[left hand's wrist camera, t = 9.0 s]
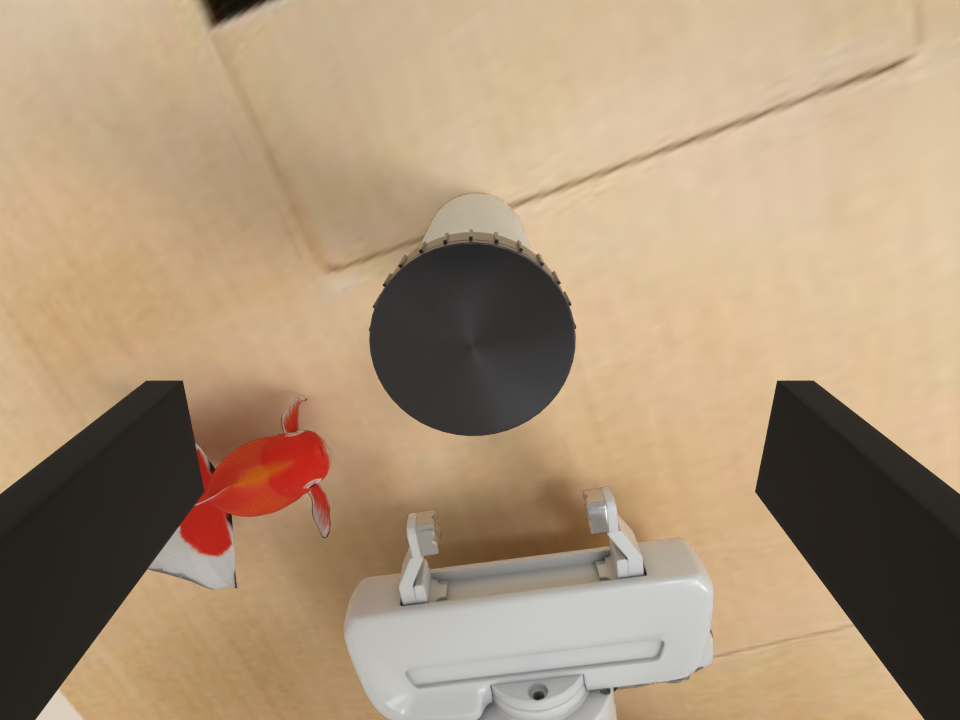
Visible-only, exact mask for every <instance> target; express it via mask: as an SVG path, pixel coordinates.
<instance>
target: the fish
mask: <svg viewBox="0 0 960 720" xmlns="http://www.w3.org/2000/svg"><path fill="white" fill-rule="evenodd" d="M306 400H307V399H306V398H304V397H303V396H301V395H300V396H299V397H298V398H297V399H295V400H294V401H293V402H292V403H291V404H290V405H289V407H288V408H287V409H286V410H285V412H284V414H283V415H282V418H281V422H282V428H283V432H284V434H280V435H277V436H273V437H266V438H260V439H257V440H255V441H252V442H250V443H248V444H245V445H243V446H241V447H239V448H237V449H236V450H234V451H233V452H232V453H231V454H230V455H228V456H227V457H226V458H225V459H224V460H223V461H222V462H221V464H220V465H219V466H218V467H217V468H216V470H215V468H214V467H213V465H212V464H211V462H210V461H209V459H208V458H207V456H206V455H205V453H204V452H203V450H202V449H201V447H200V446H199V445H198V444H196V443H195V445H196V450H197V455H198V460H199V465H200V470H201V475H202V480H203V485H204V490H205V492H204V494H203V495H202V496H201V498H200V499H199V500H198V502H197V503H196V504H195V506H194V507H193V508H192V510H191V511H190V512H189V514H188V515H187V516H186V518H185V519H184V520H183V522H182V523H181V524H180V526H179V527H178V529H177V530H176V531H175V533H174V534H173V535H172V537H171V538H170V539H169V541H168V542H167V543H166V545H165V546H164V547H163V549H162V550H161V551H160V553H159V554H158V555H157V557H156V558H155V559H154V561H153V562H152V563H151V565H150V566H149V567H148V569H149V570H153V571H157V572H161V573H165V574H168V575H172V576H175V577H179V578H182V579H186V580H189V581H192V582H194V583H196V584H199V585H201V586H204V587H206V588H209V589H220V588H237V584H236V576H235V552H234V539H233V527H232V515H237V516H242V517H252V516H261V515H265V514H270V513H273V512H276V511H278V510H281V509H283V508H284V507H286V506H288V505H290V504H291V503H293V502H295V501H296V500H298V499H299V498H300V497H301V496H302V495H303V494H305V493H307V492H308V493H309V495H310V497H311V499H312V514H313V518H314V520H315V522H316V524H317V526H318V528H319V531H320V533H321V536H322V537H323V538H326V537H327V536H328V534H329V532H330V524H331V523H330V516H329V514H330V507H329V504H328V501H327V497H326V494H325V493H324V491H323V490H322V488H321V487H320V485H319V484H318V483H319V482H320V481H322V480H323V479H324V478H325V477H326V475H327V474H328V472H329V471H330V464H331V455H330V450H329V447H328V446H327V444H326V442H325V440H324V439H323V438H321V437H320V436H319V435H318V434H317V433H315V432H311V431H299V429H298V410H299V404H300V402H301V401H306ZM231 514H232V515H231Z"/></svg>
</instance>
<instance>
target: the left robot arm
mask: <svg viewBox="0 0 960 720" xmlns="http://www.w3.org/2000/svg"><path fill="white" fill-rule="evenodd" d="M204 492H205V490H204V485H203V480H202V475H201V470H200V465H199V460H198V455H197V450H196V445H195V440H194V435H193V430H192V425H191V420H190V415H189V410H188V405H187V400H186V395H185V390H184V385H183V381H145V382H144V383H143V384H142V385H140V386H139V387H138V388H136V389H135V390H134V391H133V392H131V393H130V394H129V395H127V396H126V397H125V398H124V399H122V400H121V401H120V402H118V403H117V404H116V405H115V406H113V407H112V408H111V409H109V410H108V411H107V412H106V413H104V414H103V415H102V416H100V417H99V418H98V419H97V420H95V421H94V422H93V423H91V424H90V425H89V426H87V427H86V428H85V429H84V430H82V431H81V432H80V433H78V434H77V435H76V436H75V437H73V438H72V439H71V440H69V441H68V442H67V443H66V444H64V445H63V446H62V447H60V448H59V449H58V450H57V451H55V452H54V453H53V454H51V455H50V456H49V457H48V458H46V459H45V460H44V461H42V462H41V463H40V464H39V465H37V466H36V467H35V468H33V469H32V470H31V471H30V472H28V473H27V474H26V475H24V476H23V477H22V478H21V479H19V480H18V481H17V482H15V483H14V484H13V485H11V486H10V487H9V488H8V489H6V490H5V491H4V492H2V493H1V494H0V720H35V719H36V718H37V717H38V715H39V714H40V713H41V711H42V710H43V709H44V707H45V706H46V705H47V703H48V702H49V701H50V699H51V698H52V697H53V695H54V694H55V693H56V691H57V690H58V689H59V687H60V686H61V684H62V683H63V682H64V680H65V679H66V678H67V676H68V675H69V674H70V672H71V671H72V670H73V668H74V667H75V666H76V664H77V663H78V662H79V660H80V659H81V658H82V656H83V655H84V654H85V652H86V651H87V650H88V648H89V647H90V645H91V644H92V643H93V641H94V640H95V639H96V637H97V636H98V635H99V633H100V632H101V631H102V629H103V628H104V627H105V625H106V624H107V623H108V621H109V620H110V619H111V617H112V616H113V615H114V613H115V612H116V611H117V609H118V608H119V606H120V605H121V604H122V602H123V601H124V600H125V598H126V597H127V596H128V594H129V593H130V592H131V590H132V589H133V588H134V586H135V585H136V584H137V582H138V581H139V580H140V578H141V577H142V576H143V574H144V573H145V572H146V570H147V569H148V567H149V566H150V565H151V563H152V562H153V561H154V559H155V558H156V557H157V555H158V554H159V553H160V551H161V550H162V549H163V547H164V546H165V545H166V543H167V542H168V541H169V539H170V538H171V537H172V535H173V534H174V533H175V531H176V530H177V529H178V527H179V526H180V524H181V523H182V522H183V520H184V519H185V518H186V516H187V515H188V514H189V512H190V511H191V510H192V508H193V507H194V506H195V504H196V503H197V502H198V500H199V499H200V498H201V496H202V495H203V494H204ZM755 492H756V494H757V495H758V496H759V498H760V499H761V500H762V502H763V503H764V504H765V506H766V507H767V508H768V510H769V511H770V512H771V514H772V515H773V516H774V518H775V519H776V520H777V522H778V523H779V524H780V526H781V527H782V529H783V530H784V531H785V533H786V534H787V535H788V537H789V538H790V539H791V541H792V542H793V543H794V545H795V546H796V547H797V549H798V550H799V551H800V553H801V554H802V555H803V557H804V558H805V559H806V561H807V562H808V563H809V565H810V566H811V568H812V569H813V570H814V572H815V573H816V574H817V576H818V577H819V578H820V580H821V581H822V582H823V584H824V585H825V586H826V588H827V589H828V590H829V592H830V593H831V594H832V596H833V597H834V598H835V600H836V601H837V602H838V604H839V605H840V606H841V608H842V609H843V611H844V612H845V613H846V615H847V616H848V617H849V619H850V620H851V621H852V623H853V624H854V625H855V627H856V628H857V629H858V631H859V632H860V633H861V635H862V636H863V637H864V639H865V640H866V641H867V643H868V644H869V645H870V647H871V648H872V650H873V651H874V652H875V654H876V655H877V656H878V658H879V659H880V660H881V662H882V663H883V664H884V666H885V667H886V668H887V670H888V671H889V672H890V674H891V675H892V676H893V678H894V679H895V680H896V682H897V683H898V684H899V686H900V687H901V689H902V690H903V691H904V693H905V694H906V695H907V697H908V698H909V699H910V701H911V702H912V703H913V705H914V706H915V707H916V709H917V710H918V711H919V713H920V714H921V715H922V717H923V718H924V719H925V720H960V494H959V493H958V492H956V491H955V490H954V489H952V488H951V487H950V486H948V485H947V484H946V483H945V482H943V481H942V480H941V479H939V478H938V477H937V476H936V475H934V474H933V473H932V472H930V471H929V470H928V469H927V468H925V467H924V466H923V465H921V464H920V463H919V462H918V461H916V460H915V459H914V458H912V457H911V456H910V455H909V454H907V453H906V452H905V451H903V450H902V449H901V448H900V447H898V446H897V445H896V444H894V443H893V442H892V441H891V440H889V439H888V438H887V437H885V436H884V435H883V434H882V433H880V432H879V431H878V430H876V429H875V428H874V427H873V426H871V425H870V424H869V423H867V422H866V421H865V420H863V419H862V418H861V417H860V416H858V415H857V414H856V413H854V412H853V411H852V410H851V409H849V408H848V407H847V406H845V405H844V404H843V403H842V402H840V401H839V400H838V399H836V398H835V397H834V396H833V395H831V394H830V393H829V392H827V391H826V390H825V389H824V388H822V387H821V386H820V385H818V384H817V383H816V382H815V381H777V384H776V390H775V395H774V400H773V405H772V410H771V415H770V420H769V425H768V430H767V435H766V440H765V445H764V450H763V455H762V460H761V465H760V470H759V475H758V480H757V485H756V490H755Z"/></svg>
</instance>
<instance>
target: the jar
mask: <svg viewBox="0 0 960 720" xmlns="http://www.w3.org/2000/svg"><path fill="white" fill-rule="evenodd" d="M470 229H473V232H482V233H491V234H494V232H498V235H499V236H503V237H505V238H508V239H511V240H513V241H515V242H517V241H518V240H519V241H521V243H522V245H523V246H525V247H526V248H528V249H529V250H530V251H532V248H531V246H530V243H529V241H528V238H527V236H526V233H525V230H524V228H523V225H522V223H521V221H520V219H519V217H518V216H517V214H516V213H515V212H514V210H513V209H512V208H511V207H510V206H509V205H507V204H506V203H505V202H503V201H502V200H500V199H498V198H496V197H494V196H491V195H487V194H480V193H471V194H465V195H462V196H459V197H456V198H454V199H452V200H451V201H449V202H448V203H446V204H445V205H444V206H443V207H442V208H441V209H440V210H439V211H438V212H437V214H436V215H435V216H434V218H433V220H432V222H431V224H430V226H429V228H428V230H427V232H426V234H425V236H424V238H423V241H422V243H423V242H424V241H426V243H428V242H430V241H433V240H435V239H437V238H440V237H443V236H444V235H445V233H447V232H448V233H449V235H450V234H456V233H462V232H469V231H470ZM422 243H421V245H422ZM421 245H420V247H421ZM420 247H419V248H420ZM532 252H533V251H532Z"/></svg>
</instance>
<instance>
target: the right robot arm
mask: <svg viewBox="0 0 960 720" xmlns="http://www.w3.org/2000/svg"><path fill="white" fill-rule="evenodd" d="M583 497H584V501H585V504H584V506H585V514H586V518H587V521H588V525H589V529H590V533H591V534H599V533H606V534H607V535H608V536H609V545H610V546H606V547H599V548H591V549H583V550H575V551H568V552H560V553H552V554H544V555H536V556H529V557H521V558H513V559H505V560H497V561H490V562H482V563H474V564H466V565H458V566H451V567H443V568H435V569H429V566H428V562H427V560H426V559H424V556H430V555H436V554H439V549H440V544H439V541H440V539H441V530H440V526H439V523H438V522H437V513H436V510H431V511H423V512H417V513H409V514H408V520H407V525H406V532H407V539H408V543H409V549H408V551H407V553H406V556H405V558H404V560H403V564H402V570H401V573H396V574H388V575H380V576H371V577H366V578H364V579H362V580H361V581H360V583H359V584H358V585H357V587H356V589H355V590H354V592H353V594H352V596H351V598H350V601H349V604H348V608H347V612H346V616H345V621H344V640H345V644H346V647H347V650H348V653H349V656H350V659H351V661H352V664H353V666H354V669H355V671H356V674H357V676H358V678H359V680H360V682H361V685H362V687H363V689H364V691H365V693H366V695H367V697H368V698H369V700H370V702H371V703H372V705H373V706H374V707H375V709H376V710H377V711H378V712H379V713H380V714H382V715H383V716H384V717H386V718H387V719H389V720H617V713H616V704H615V695H614V691H616V690H615V689H617V690H618V689H627V688H635V687H642V686H646V685H650V684H655V683H659V682H660V683H662V682H667V683H679V682H683V681H686V680H688V679H689V678H690V674H691V673H694V672H697V671H699V670H701V669H702V668H703V667H705V666H708V665H710V663H711V662H712V659H713V634H712V631H711V621H712V613H713V599H714V590H713V584H712V581H711V578H710V576H709V573H708V571H707V569H706V567H705V564H704V562H703V561H702V559H701V557H700V555H699V554H698V552H697V551H696V550H695V549H694V548H693V547H692V546H691V545H689V544H688V543H687V542H686V541H685V540H683V539H681V538H668V539H661V540H653V541H645V542H638V543H637V540H636V538H635V535H634V532H633V531H632V530H631V528H630V527H629V526H628V525H627V524H626V523H625V522H624V521H623V520H622V519H621V517H620V516H619V515H618V514H617V507H616V503H615V499H614V496H613V493H612V490H611V487H602V488H596V489H589V490H583Z"/></svg>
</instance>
